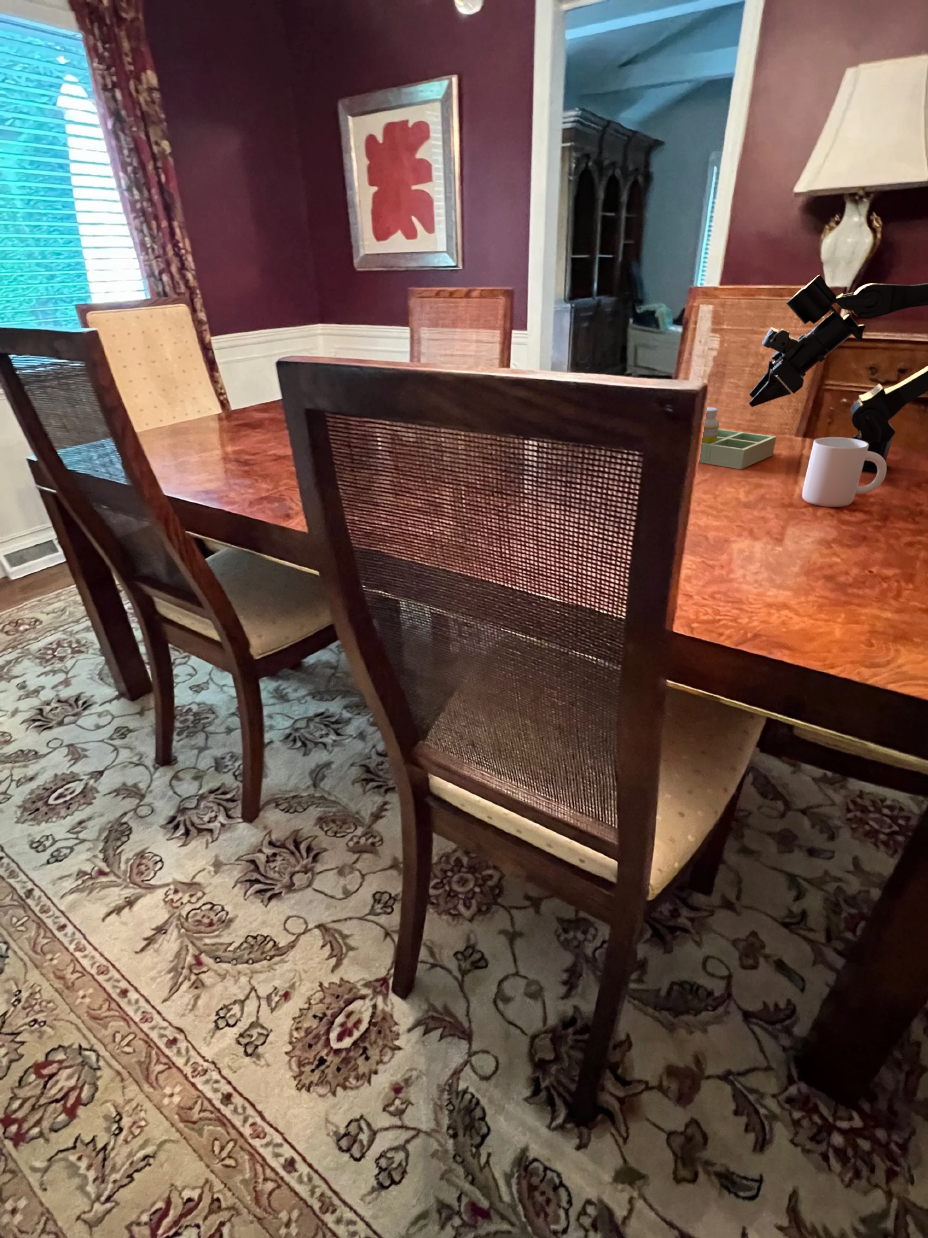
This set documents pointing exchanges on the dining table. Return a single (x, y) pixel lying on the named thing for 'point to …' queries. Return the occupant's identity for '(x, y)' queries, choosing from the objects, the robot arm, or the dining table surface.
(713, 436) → the supplement bottle
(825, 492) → the mug
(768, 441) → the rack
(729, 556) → the dining table surface
